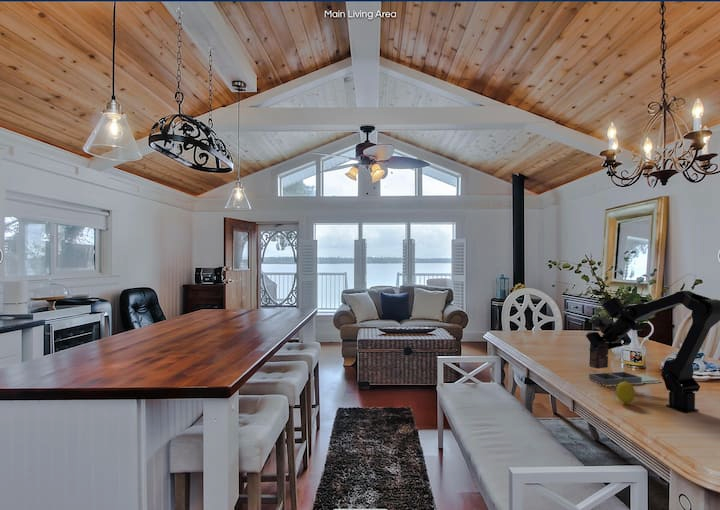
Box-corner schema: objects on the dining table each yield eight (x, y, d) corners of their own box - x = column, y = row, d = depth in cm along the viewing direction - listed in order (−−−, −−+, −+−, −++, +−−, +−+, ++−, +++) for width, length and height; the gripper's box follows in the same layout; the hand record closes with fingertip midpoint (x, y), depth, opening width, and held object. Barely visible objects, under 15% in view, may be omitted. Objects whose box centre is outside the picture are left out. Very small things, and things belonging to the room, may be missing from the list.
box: (599, 369, 172) (599, 339, 172) (589, 366, 176) (589, 337, 176) (609, 367, 174) (609, 338, 175) (598, 365, 179) (599, 336, 179)
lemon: (625, 407, 145) (626, 383, 145) (612, 401, 150) (612, 379, 150) (638, 406, 147) (639, 382, 147) (624, 400, 152) (625, 378, 152)
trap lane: (661, 382, 174) (661, 376, 174) (606, 386, 168) (606, 380, 168) (640, 375, 184) (640, 370, 184) (587, 379, 178) (587, 373, 178)
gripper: (624, 310, 175) (601, 333, 185) (589, 312, 169) (567, 335, 179) (643, 333, 167) (617, 355, 178) (607, 335, 161) (583, 358, 171)
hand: (596, 350), depth 177 cm, fingers closed on box, 6 cm apart
